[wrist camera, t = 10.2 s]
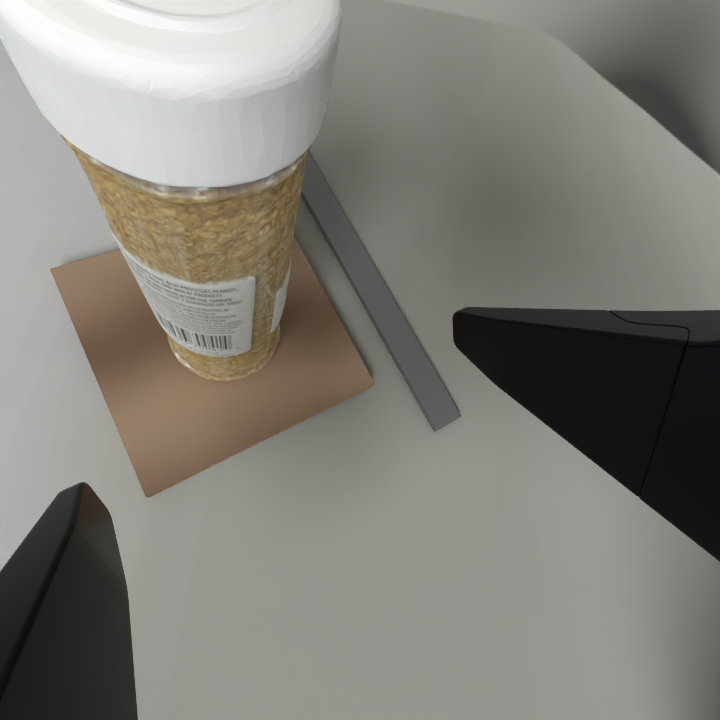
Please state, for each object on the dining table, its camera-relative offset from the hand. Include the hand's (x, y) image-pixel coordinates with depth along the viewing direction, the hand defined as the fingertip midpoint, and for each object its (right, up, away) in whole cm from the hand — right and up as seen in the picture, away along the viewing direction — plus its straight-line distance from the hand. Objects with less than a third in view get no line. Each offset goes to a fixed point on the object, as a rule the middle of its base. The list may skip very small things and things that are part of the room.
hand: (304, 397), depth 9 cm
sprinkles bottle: (-5, +2, +8) cm, 10 cm away
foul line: (+1, +6, +11) cm, 13 cm away
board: (-5, +2, +9) cm, 10 cm away
